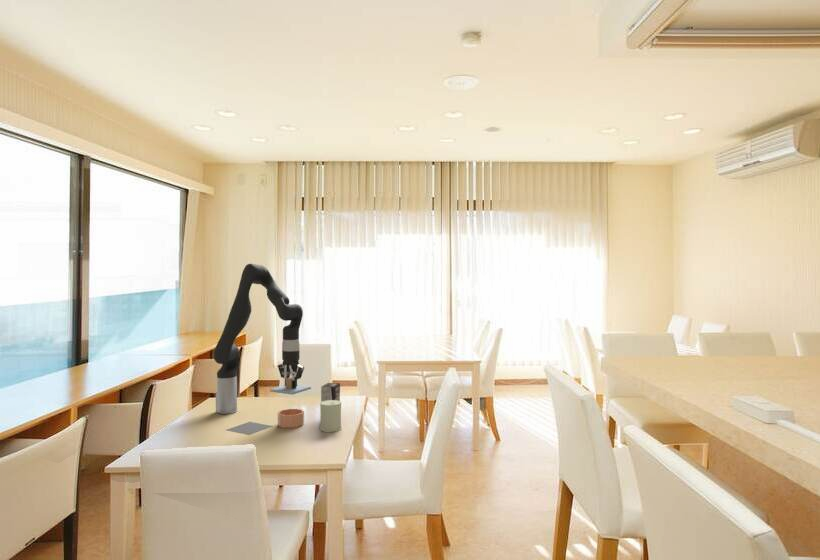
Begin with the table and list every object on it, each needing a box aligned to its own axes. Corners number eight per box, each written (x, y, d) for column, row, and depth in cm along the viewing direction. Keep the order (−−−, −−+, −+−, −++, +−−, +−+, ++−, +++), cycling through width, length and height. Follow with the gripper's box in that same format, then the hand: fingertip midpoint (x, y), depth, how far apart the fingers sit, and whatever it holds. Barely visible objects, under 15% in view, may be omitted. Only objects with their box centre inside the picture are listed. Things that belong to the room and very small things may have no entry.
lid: (270, 391, 226) (270, 379, 226) (289, 385, 237) (289, 374, 237) (292, 394, 221) (292, 381, 220) (310, 388, 232) (310, 376, 232)
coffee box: (333, 422, 234) (333, 387, 234) (320, 421, 236) (320, 386, 235) (340, 416, 243) (340, 382, 243) (327, 416, 244) (327, 382, 244)
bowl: (272, 426, 227) (272, 413, 227) (289, 420, 237) (289, 407, 237) (292, 430, 222) (292, 416, 222) (308, 423, 232) (308, 410, 231)
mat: (225, 430, 221) (225, 429, 221) (249, 422, 234) (249, 421, 234) (249, 435, 215) (249, 434, 215) (273, 426, 227) (273, 426, 227)
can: (323, 433, 218) (323, 405, 218) (317, 427, 227) (317, 400, 226) (344, 430, 223) (344, 402, 222) (337, 424, 231) (337, 398, 231)
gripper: (272, 349, 229) (273, 387, 229) (297, 351, 222) (297, 391, 222) (284, 347, 235) (284, 384, 236) (308, 349, 229) (308, 388, 229)
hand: (290, 387), depth 229 cm, fingers closed on lid, 3 cm apart
